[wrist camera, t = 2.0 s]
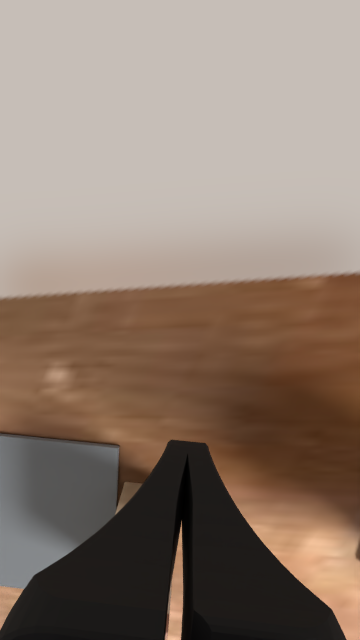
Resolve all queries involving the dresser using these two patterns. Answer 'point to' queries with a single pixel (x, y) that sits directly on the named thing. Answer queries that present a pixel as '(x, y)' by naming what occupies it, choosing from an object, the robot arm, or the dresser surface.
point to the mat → (51, 500)
